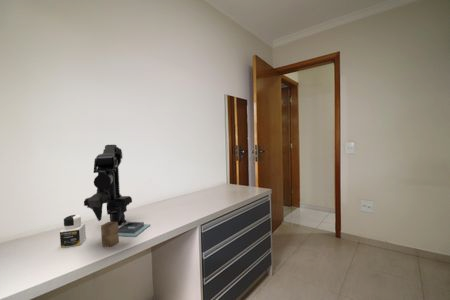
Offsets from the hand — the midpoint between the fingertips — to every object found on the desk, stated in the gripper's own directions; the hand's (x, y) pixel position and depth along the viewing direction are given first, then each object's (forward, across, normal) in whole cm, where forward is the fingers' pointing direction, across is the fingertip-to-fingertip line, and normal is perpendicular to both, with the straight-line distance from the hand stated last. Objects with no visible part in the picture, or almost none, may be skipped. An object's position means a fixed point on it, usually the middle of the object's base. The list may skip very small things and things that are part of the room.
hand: (109, 220), depth 88 cm
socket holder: (+10, +1, +14) cm, 17 cm away
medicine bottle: (+10, -18, 0) cm, 21 cm away
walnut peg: (+10, 0, 0) cm, 10 cm away
